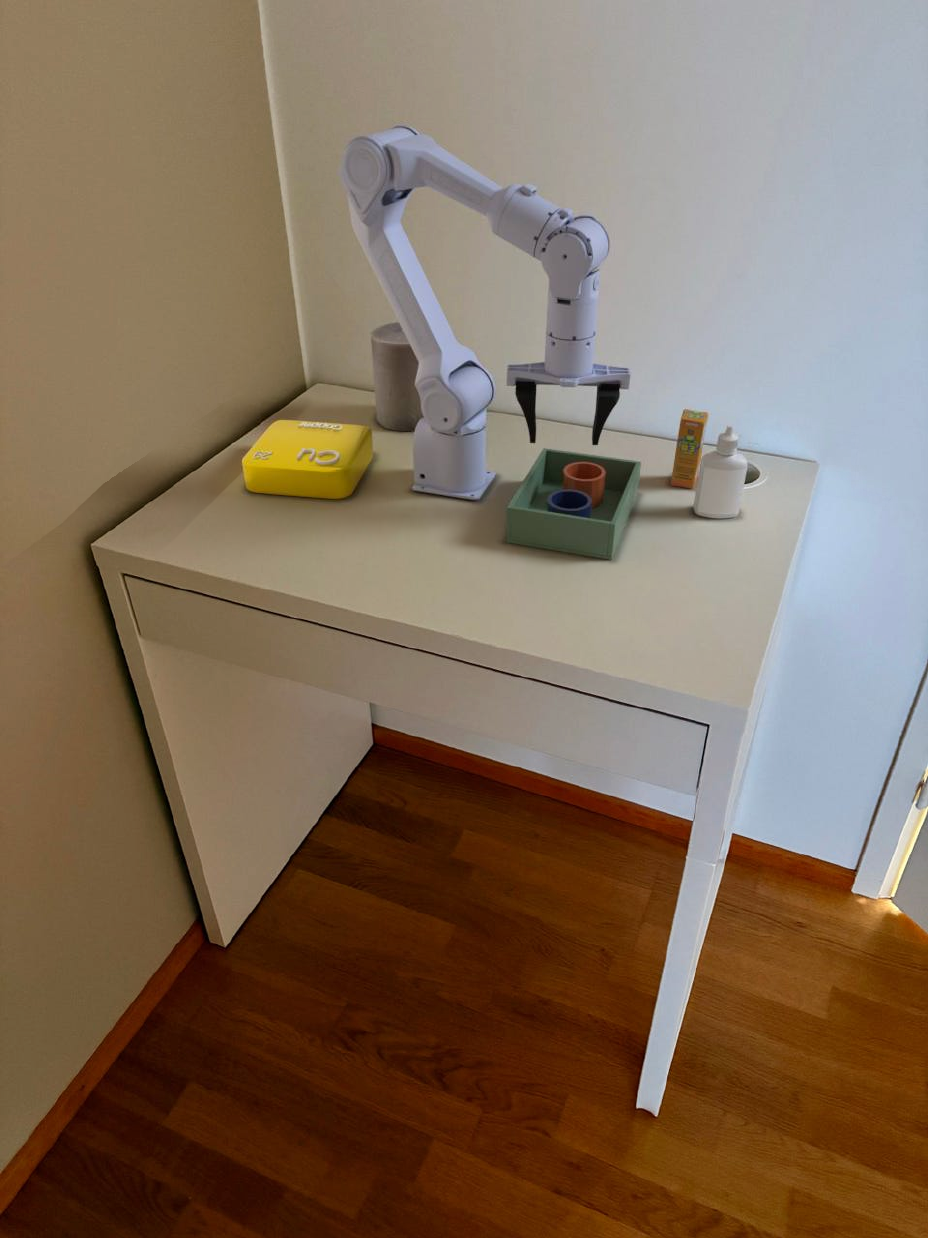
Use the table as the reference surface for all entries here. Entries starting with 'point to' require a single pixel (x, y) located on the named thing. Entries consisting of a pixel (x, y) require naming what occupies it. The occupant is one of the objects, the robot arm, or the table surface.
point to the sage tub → (567, 531)
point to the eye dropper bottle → (721, 479)
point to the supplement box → (689, 448)
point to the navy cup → (570, 503)
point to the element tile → (308, 459)
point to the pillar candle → (395, 379)
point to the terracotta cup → (585, 480)
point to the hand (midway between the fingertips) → (563, 440)
